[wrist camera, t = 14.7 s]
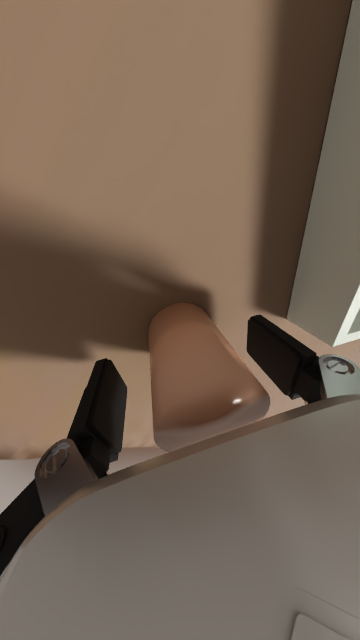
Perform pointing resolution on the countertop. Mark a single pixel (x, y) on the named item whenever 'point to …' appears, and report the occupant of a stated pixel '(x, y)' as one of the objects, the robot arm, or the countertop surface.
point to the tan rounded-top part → (198, 380)
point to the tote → (334, 214)
